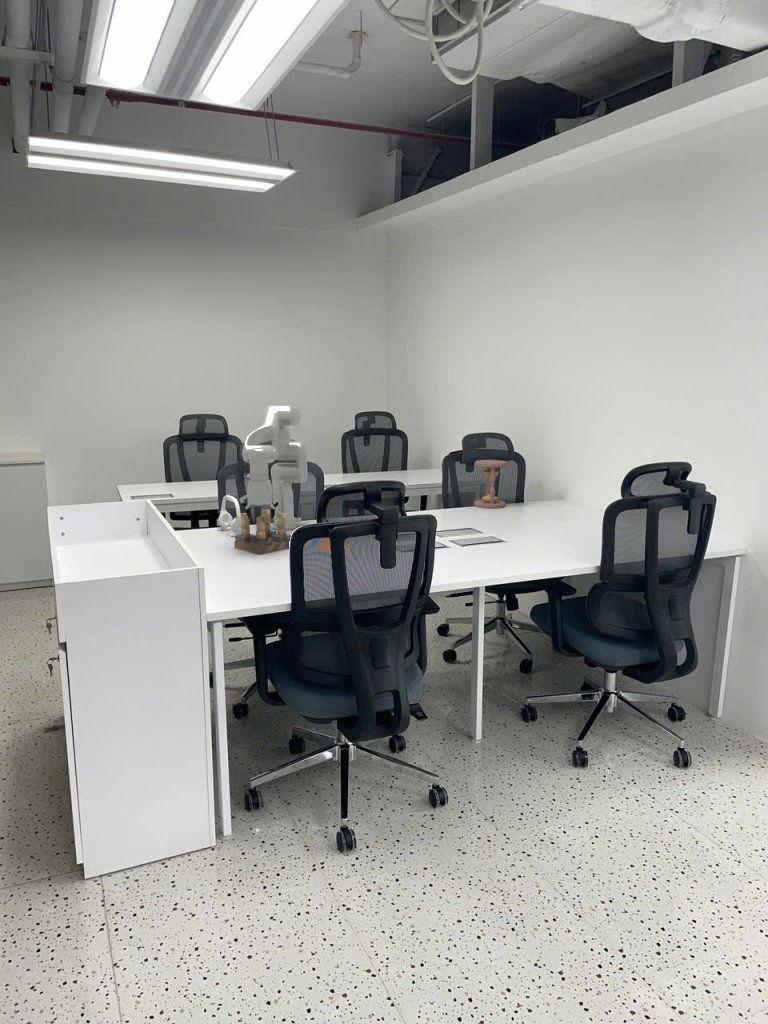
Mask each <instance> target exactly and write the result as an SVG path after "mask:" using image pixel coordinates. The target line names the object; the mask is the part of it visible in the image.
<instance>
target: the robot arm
mask: <svg viewBox="0 0 768 1024" xmlns="http://www.w3.org/2000/svg"><path fill="white" fill-rule="evenodd" d="M301 418H302V415H301V412H300V409H299V408H298V407H296V406H293V405H287V404H286V405H285V404H283V405H282V404H281V405H279V404H274V405H273V404H269V405H268V406H265V407H264V409H263V411H262V414H261V418H260V419H261V420H260V423H259V425H258V428H256V429H254V430H253V431H252V432H250V433H249V434H248V435H247V437H245V439H244V443H243V447H242V453H241V454H242V459H243V461H244V462H245V463H248V464H249V474H246V478H247V479H249V481H248V482H247V483H248V484H247V493H246V495H243V496H240V498H239V502H240V504H241V505H242V507H244V508H245V511H246V512H245V513H247V516H248V519H249V520H250V519H251V517H252V509H251V506H269V507H270V519H273V524H270V529H271V530H275V531H278V530H277V513H286V531H289V530H293V529H297V528H298V524H297V522H302V517H295V516H294V515H295V514H294V513H295V512H294V511H295V510H294V490H293V489H292V487H291V485H290V484H291V483H292V484H294V483H295V484H297V483H298V484H303V483H305V482H307V480H308V475H309V474H308V457H307V456H308V454H307V452H308V451H307V447H306V443H304V442H303V441H301V440H291V435H290V434H291V432H290V429H289V427H292V426H293V427H297V426H299V425H300V422H301ZM288 426H289V427H288ZM270 441H271V445H270V444H263V443H266V442H270ZM275 460H277V461H282V462H277V463H274V462H275ZM283 461H285V462H283ZM287 461H288V462H287ZM290 461H291V462H290ZM294 461H295V462H294ZM271 463H274V464H273V465H272V466H271V468H270V475H271V476H270V475H269V464H271ZM269 476H270V477H271V480H270V478H269ZM271 481H272V482H271ZM246 499H247V501H246V502H247V503H246V502H245V500H246Z"/></svg>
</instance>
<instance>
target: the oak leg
mask: <svg viewBox="0 0 768 1024" xmlns="http://www.w3.org/2000/svg"><path fill="white" fill-rule="evenodd" d="M255 519H256V520H255V521H256V522H255V523H256V524H255V525H256V531H257V541H264V540H266V538H265V517H263V516H262V515H261V516H257V517H256V518H255Z"/></svg>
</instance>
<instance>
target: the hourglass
mask: <svg viewBox="0 0 768 1024" xmlns="http://www.w3.org/2000/svg"><path fill="white" fill-rule="evenodd" d="M474 465H475V467H479V468H486V469H484V470H482V474H483V476H484V477H485V479H486V485H485V496H482V497H481V499H477V500H474V501H473V502H474V507H476V508H479V509H489V510H490V509H493V510H494V509H502V508H503V509H504V508H505V507H506V501H504V500H500V499H499V497H497V496H495V495H496V489H495V483H496V479H497V476H498V475H499V474H500V470H496V468H498V469H499V468H505V467H507V466H508V462H507V460H506V461H505V460H499V459H480V460H476V461H475V463H474Z"/></svg>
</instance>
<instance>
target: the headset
mask: <svg viewBox="0 0 768 1024" xmlns="http://www.w3.org/2000/svg"><path fill="white" fill-rule="evenodd" d="M221 501H222V502H221V510H219V513H220V514H219V516H218V524H219V528H217V529H216V531H217V530H219V529H223V530H225V529H227V528H229V527H230V530H231V532H232V533H233V534H235V535H240V534H241V508H240V504H239V501H238V499H237V498H235V497H234V496H232V495H229V494H226V495H224V496H223V498H222V500H221ZM227 501H229V502H232V503H234V507H235V511H236V517H235V518H233V517H232V516H233V515H231V513H229V512H228V511H227V509H226V504H227ZM219 531H220V530H219Z"/></svg>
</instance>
